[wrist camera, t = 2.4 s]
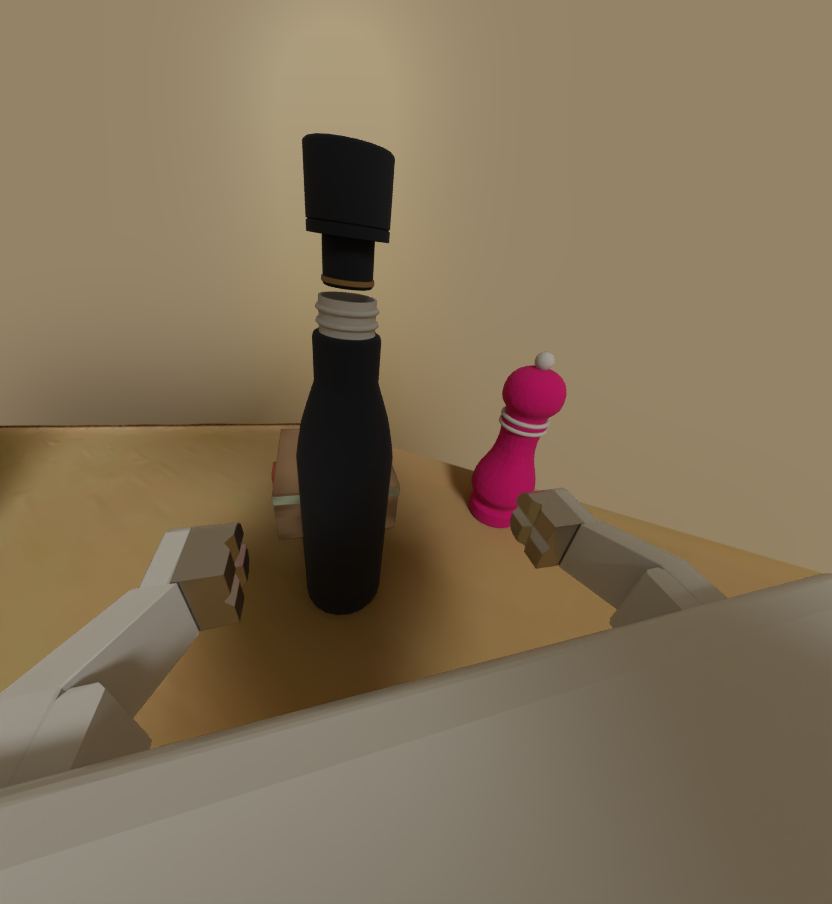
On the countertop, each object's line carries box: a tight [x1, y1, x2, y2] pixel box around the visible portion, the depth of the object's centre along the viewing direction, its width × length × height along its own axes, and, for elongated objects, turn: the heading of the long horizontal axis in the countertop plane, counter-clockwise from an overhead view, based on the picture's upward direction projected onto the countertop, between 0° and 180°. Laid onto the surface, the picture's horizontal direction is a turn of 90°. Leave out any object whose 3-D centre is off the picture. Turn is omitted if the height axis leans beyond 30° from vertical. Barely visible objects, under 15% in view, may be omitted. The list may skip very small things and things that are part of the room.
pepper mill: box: [469, 352, 566, 528], centre depth 36 cm, size 7×7×20 cm
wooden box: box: [272, 429, 400, 540], centre depth 38 cm, size 13×13×6 cm
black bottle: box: [296, 133, 395, 615], centre depth 22 cm, size 6×6×30 cm
